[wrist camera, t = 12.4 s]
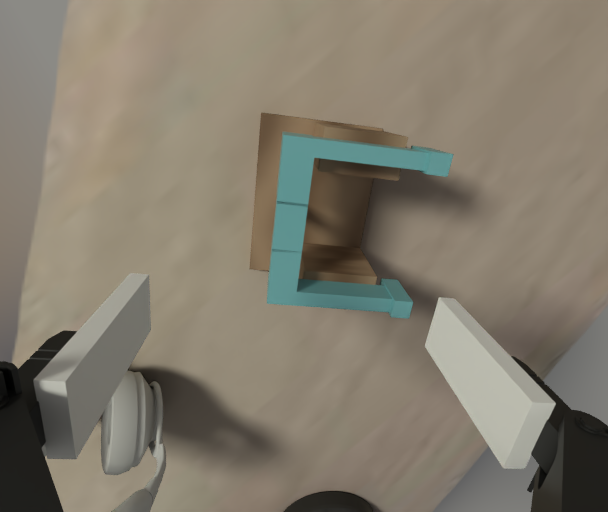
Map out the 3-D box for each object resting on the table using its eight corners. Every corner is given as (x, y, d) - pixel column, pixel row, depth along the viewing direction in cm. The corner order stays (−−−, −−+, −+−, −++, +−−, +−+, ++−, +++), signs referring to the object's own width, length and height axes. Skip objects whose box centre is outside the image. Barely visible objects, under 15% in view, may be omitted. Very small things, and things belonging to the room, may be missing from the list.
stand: (379, 128, 34) (408, 134, 26) (351, 272, 39) (369, 311, 32) (261, 112, 32) (257, 114, 25) (250, 264, 38) (244, 302, 31)
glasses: (429, 148, 28) (453, 154, 24) (393, 294, 33) (408, 318, 29) (282, 129, 27) (283, 132, 23) (267, 284, 31) (266, 308, 28)
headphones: (196, 362, 42) (134, 559, 24) (179, 425, 46) (115, 639, 27) (24, 327, 39) (-201, 525, 21) (21, 398, 42) (-175, 621, 24)
